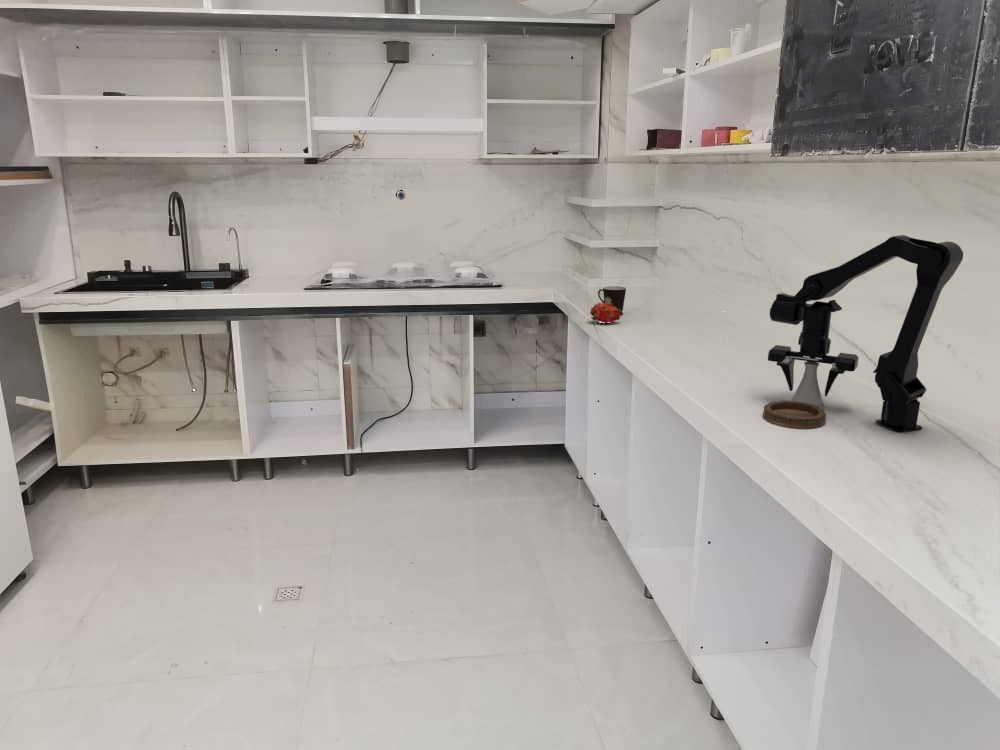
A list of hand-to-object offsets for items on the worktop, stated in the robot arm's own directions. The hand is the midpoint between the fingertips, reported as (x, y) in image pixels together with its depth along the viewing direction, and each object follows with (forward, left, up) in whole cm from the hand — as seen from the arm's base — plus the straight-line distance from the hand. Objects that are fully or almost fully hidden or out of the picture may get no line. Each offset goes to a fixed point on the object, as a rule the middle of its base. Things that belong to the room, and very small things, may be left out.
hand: (808, 393), depth 170 cm
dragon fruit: (+98, +7, -3) cm, 98 cm away
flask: (0, 0, -3) cm, 3 cm away
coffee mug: (+114, -3, -3) cm, 114 cm away
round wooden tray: (-8, +10, -3) cm, 13 cm away
